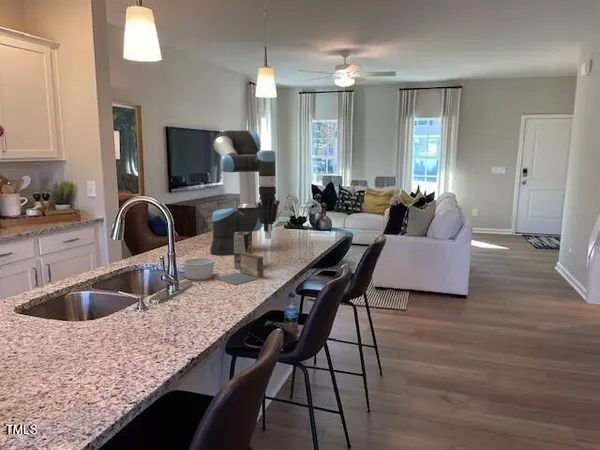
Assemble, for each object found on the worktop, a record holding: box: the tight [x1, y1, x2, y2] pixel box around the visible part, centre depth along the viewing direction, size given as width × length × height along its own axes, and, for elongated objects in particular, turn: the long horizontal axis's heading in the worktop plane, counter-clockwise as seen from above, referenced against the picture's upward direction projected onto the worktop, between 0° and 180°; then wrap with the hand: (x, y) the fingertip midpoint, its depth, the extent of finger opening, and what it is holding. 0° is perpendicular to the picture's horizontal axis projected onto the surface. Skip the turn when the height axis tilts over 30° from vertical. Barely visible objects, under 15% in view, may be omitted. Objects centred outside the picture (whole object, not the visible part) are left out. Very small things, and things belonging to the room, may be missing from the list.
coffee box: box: [233, 232, 253, 270], centre depth 210 cm, size 9×6×16 cm
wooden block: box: [239, 253, 264, 279], centre depth 196 cm, size 3×12×9 cm, turn 46°
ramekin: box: [182, 257, 215, 281], centre depth 194 cm, size 13×13×7 cm
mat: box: [214, 272, 259, 286], centre depth 190 cm, size 12×14×1 cm
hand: (268, 238), depth 201 cm, fingers closed
